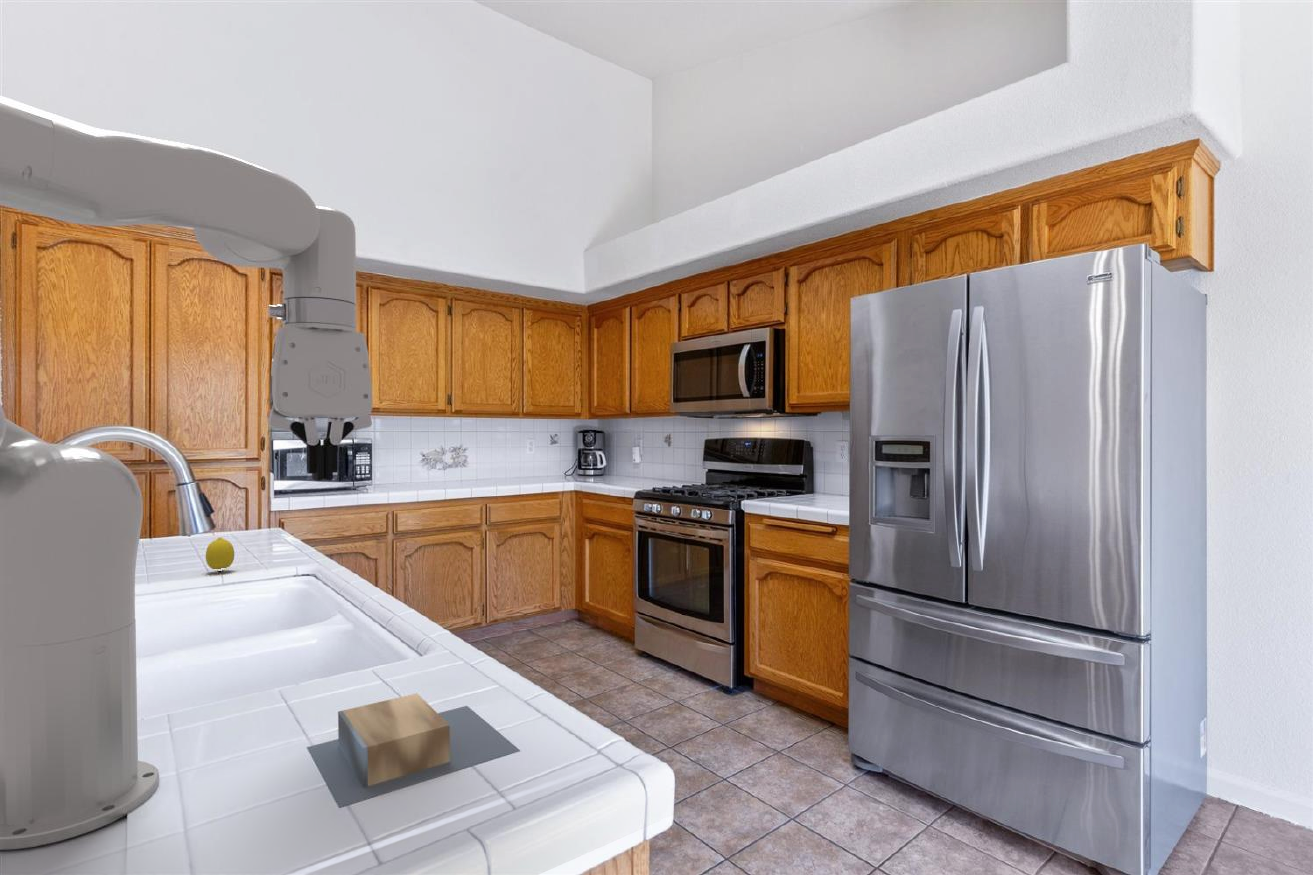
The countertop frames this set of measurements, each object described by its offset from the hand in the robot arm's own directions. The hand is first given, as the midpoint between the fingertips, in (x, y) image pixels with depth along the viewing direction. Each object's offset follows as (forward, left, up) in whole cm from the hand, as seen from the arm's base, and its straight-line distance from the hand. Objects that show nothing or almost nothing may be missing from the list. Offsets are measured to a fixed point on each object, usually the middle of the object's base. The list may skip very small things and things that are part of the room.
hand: (322, 479), depth 79 cm
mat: (+5, -16, -27) cm, 32 cm away
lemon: (-2, +98, -27) cm, 102 cm away
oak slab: (+7, -16, -25) cm, 30 cm away
